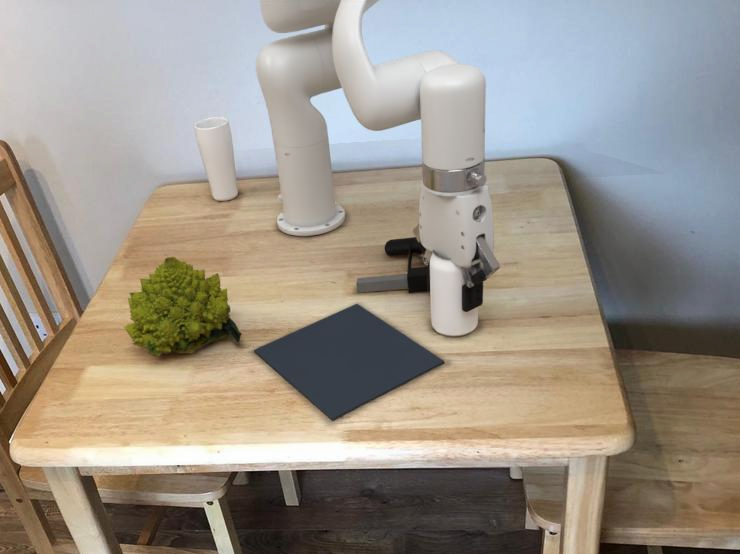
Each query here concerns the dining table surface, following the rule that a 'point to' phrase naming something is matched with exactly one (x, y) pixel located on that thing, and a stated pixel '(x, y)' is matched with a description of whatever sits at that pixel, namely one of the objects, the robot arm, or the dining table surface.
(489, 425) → the dining table surface
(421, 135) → the robot arm
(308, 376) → the mat
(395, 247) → the door handle
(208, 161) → the drinking glass
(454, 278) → the can
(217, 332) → the vegetable
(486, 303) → the dining table surface
